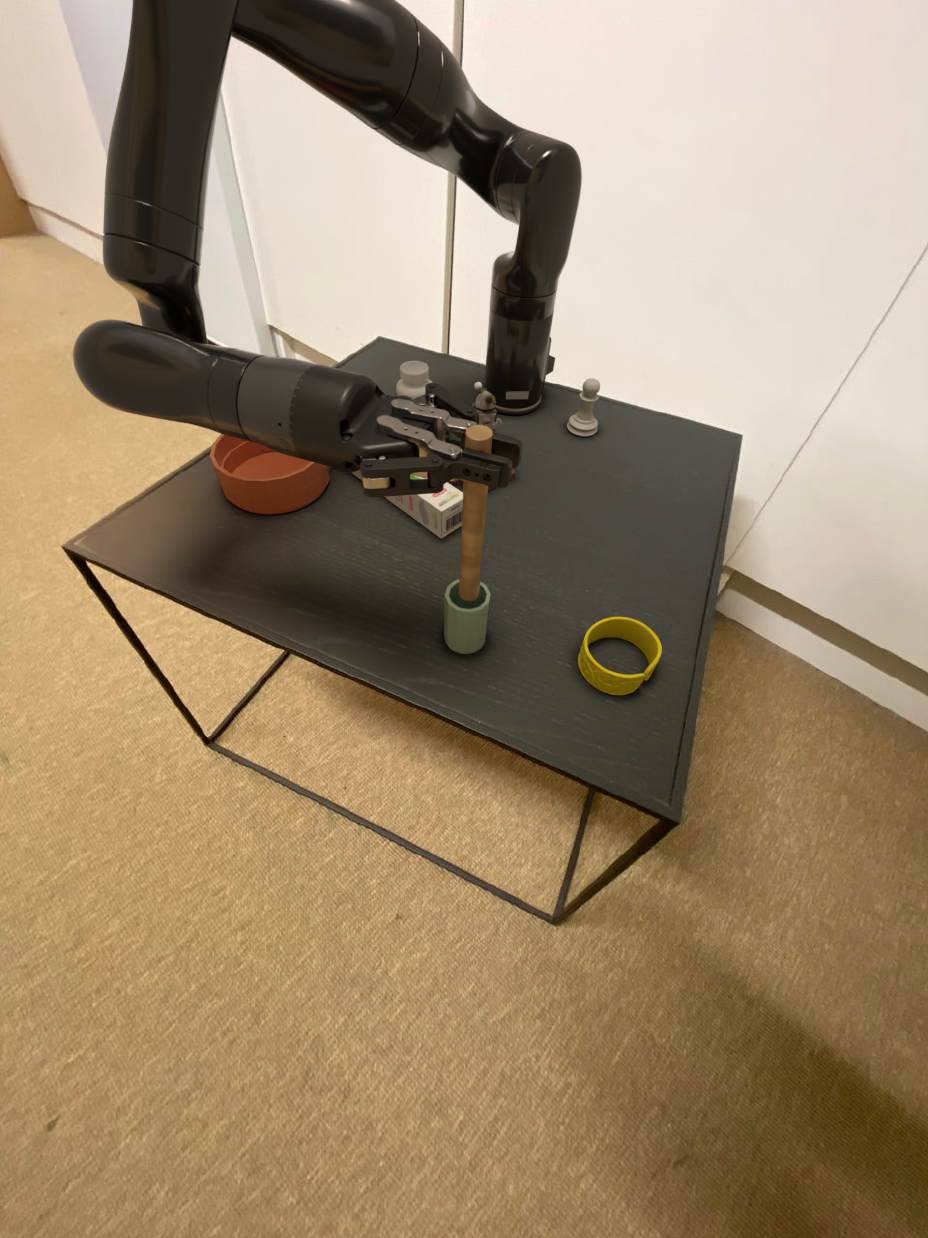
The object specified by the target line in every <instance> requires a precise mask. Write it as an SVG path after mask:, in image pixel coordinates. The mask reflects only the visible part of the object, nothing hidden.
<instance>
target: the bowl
mask: <svg viewBox="0 0 928 1238" xmlns="http://www.w3.org/2000/svg"><path fill="white" fill-rule="evenodd" d="M209 454H210V455H209V457H210V460H211V463H212V466H213V469H214V472H215V474H216V477H217V480H218V482H219V485H220V487H221V490H222V491H223V495H224V496H225V498H226V499H227V500H228V501H229V502H231V503H232V504H233V505H235V506H236V507H238V508H239V509H242V510H244V511H246V512H249V513H252V514H253V513H254V514H260V515H278V514H286V513H289V512H293V511H297V510H299V509H302V508H304V507H306V506H308V505H310V504H311V503H313V502H315V501H316V500H317V499H318V498H319V497H320V496H321V495H322V494H323V493H324V491H325V490H326V487H327V486H328V484H329V482H330V479H331V478H330V467H329V466H325V465H322V464H318V463H314V462H311V461H307V460H303V459H300V458H296V457H292V456H289V455H285V454H282V453H279V452H276V451H273V450H271V449H269V448H267V447H264V446H262V445H259V444H256V443H253V442H249V441H246V440H242V439H238V438H235V437H231V436H227V435H224V434H221V433H220V434H219V436H217V438H216V439H215V441H213V443H212V444H211V448H210V453H209Z"/></svg>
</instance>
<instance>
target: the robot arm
mask: <svg viewBox="0 0 928 1238" xmlns="http://www.w3.org/2000/svg"><path fill="white" fill-rule="evenodd" d="M232 38H233V39H235V40H236V41H239V42H240V43H243V44H245V45H246V46H248V47H250V48H251V49H253V50H255V51H257V52H259V53H261V54H262V55H264V56H265V57H267V58H269V60H272V61H273V62H275V63H276V64H278V65H279V66H281V67H282V68H283V69H285V70H286V71H288V72H289V73H291V74H292V75H293V76H295V77H296V78H297V79H299V80H300V81H302V82H303V83H305V84H306V85H307V86H309V87H310V88H312V89H313V90H314V91H316V92H318V93H319V94H321V95H322V96H324V97H325V98H327V99H328V100H330V101H331V102H333V103H334V104H336V105H337V106H338V107H340V108H342V109H343V110H345V111H346V112H347V113H349V115H351V116H353V117H354V118H356V119H357V120H358V121H359V122H361V123H362V124H364V125H365V126H366V127H368V128H369V129H371V130H372V131H374V132H376V133H377V134H379V135H380V136H382V137H383V138H385V139H386V140H388V141H389V142H390V143H392V144H393V145H395V146H396V147H399V148H400V149H402V150H404V151H405V152H408V153H409V154H411V155H413V156H415V157H416V158H418V159H420V160H421V161H424V162H427V163H428V164H431V165H433V166H435V167H438V168H440V169H443V170H445V171H447V172H449V173H450V174H452V175H453V176H455V177H456V178H457V179H459V180H460V181H461V182H462V183H463V184H465V185H466V186H467V187H468V188H469V189H470V190H471V191H473V192H474V193H475V195H477V196H478V197H479V198H480V199H481V200H482V201H483V202H484V203H485V204H487V205H488V207H490V208H491V209H492V211H494V212H495V213H496V214H497V215H498V216H499V217H501V218H502V219H504V220H507V221H509V222H510V223H513V224H515V225H516V226H518V229H517V236H516V242H515V248H514V250H511V251H507V252H504V253H501V254H499V255H498V256H497V257H496V258H495V259H494V260H493V263H492V269H491V280H490V281H491V282H490V297H489V311H488V312H489V313H488V325H487V326H488V327H487V340H486V355H485V368H484V369H485V370H484V384H483V388H485V389H487V391H488V392H489V393H491V394H492V395H493V396H494V397H495V400H496V404H495V408H494V409H496V411H497V413H501V414H504V415H505V414H506V415H513V416H514V415H517V416H518V415H526V414H529V413H531V412H534V411H535V410H537V409H538V408H539V407H540V405H541V401H542V397H543V396H544V390H545V385H546V380H547V379H546V378H547V376H548V375H549V374H551V373H553V372H554V368H555V363H556V357H555V356H552V355H550V352H551V348H552V347H551V346H552V337H551V331H552V325H553V319H554V312H555V305H556V299H557V292H558V286H559V280H560V277H561V275H562V273H563V270H564V268H565V266H566V263H567V262H568V261H567V260H568V257H569V253H570V249H571V244H572V238H573V235H574V234H573V233H574V229H575V224H576V219H577V215H578V210H579V205H580V200H581V192H582V186H583V185H582V183H583V169H582V162H581V158H580V156H579V155H580V154H579V153H578V152H577V150H576V149H575V148H574V146H573V145H571V144H569V143H567V142H565V141H563V140H560V139H557V138H554V137H550V136H548V135H545V134H543V133H538V132H536V131H533V130H530V129H527V128H524V127H523V126H520V125H517V124H515V123H513V122H512V121H510V120H509V119H507V118H505V117H503V115H501V114H500V113H498V112H497V111H495V110H494V109H492V108H491V107H490V106H488V105H487V104H486V103H485V102H484V101H483V100H482V99H480V97H479V96H478V95H477V94H476V92H475V90H474V88H473V87H472V86H471V83H470V82H469V80H468V78H467V75H466V73H465V72H464V70H463V68H462V66H461V64H460V63H459V61H458V59H457V58H456V57H455V55H454V54H453V53H452V51H451V50H450V49H449V47H448V46H447V45H446V44H445V43H444V42H443V41H442V40H441V38H439V37H438V36H437V35H436V34H435V33H434V32H433V31H432V30H431V29H429V27H427V26H426V25H425V24H424V23H423V22H422V21H421V20H420V19H419V18H417V17H416V16H415V15H414V13H412V12H411V11H410V10H409V9H408V8H406V7H405V6H404V5H402V4H401V3H399V2H398V1H397V0H132V8H131V20H130V29H129V38H128V46H127V51H126V52H127V53H126V57H125V64H124V70H123V75H122V80H121V85H120V90H119V95H118V99H117V103H116V107H115V112H114V116H113V117H114V118H113V120H112V121H113V122H112V126H111V131H110V137H109V143H108V149H107V157H106V158H107V159H106V165H105V177H104V178H105V179H104V201H103V226H102V227H103V229H102V233H103V235H102V263H103V268H104V270H105V272H106V274H107V275H108V277H109V278H110V279H112V281H114V282H115V283H116V284H117V285H119V286H120V287H121V288H123V289H124V290H125V291H127V292H128V293H130V294H131V295H132V296H133V297H134V299H135V301H136V304H137V309H138V312H139V316H140V317H139V318H140V322H141V325H140V324H137V323H134V322H130V321H127V320H123V319H118V318H107V319H106V318H105V319H100V320H98V321H95V322H93V323H91V324H89V325H88V326H86V327H85V328H84V329H82V331H81V332H80V333H79V334H78V336H77V337H76V340H75V342H74V344H73V349H72V350H73V351H72V362H73V367H74V370H75V372H76V375H77V377H78V380H79V381H80V382H81V384H82V386H83V387H84V388H85V389H86V390H87V392H88V393H89V394H90V395H91V396H92V397H93V398H95V399H96V400H97V401H99V402H100V403H101V404H103V405H104V406H107V407H109V408H111V409H113V410H116V411H119V412H124V413H126V414H127V413H128V414H131V415H137V416H142V417H147V418H153V419H158V420H165V421H169V422H176V423H182V424H187V425H188V424H189V425H193V426H197V427H199V428H204V429H206V430H210V431H213V432H216V433H218V434H220V435H221V434H224V435H227V436H231V437H235V438H238V439H242V440H246V441H249V442H253V443H256V444H259V445H262V446H264V447H267V448H269V449H271V450H273V451H276V452H279V453H282V454H285V455H289V456H292V457H296V458H300V459H303V460H307V461H311V462H314V463H318V464H322V465H325V466H329V468H333V469H337V470H341V471H343V472H344V471H345V472H348V473H351V472H356V471H358V470H361V478H362V480H361V484H362V485H361V486H362V492H363V493H362V494H363V495H364V496H365V497H366V498H383V497H384V498H385V497H386V496H402V495H417V494H432V493H440V492H442V491H443V489H444V484H445V483H448V481H452V482H453V481H457V480H459V479H464V480H468V481H472V482H475V483H479V484H484V485H487V486H491V487H496V488H502V489H504V488H507V487H508V485H509V484H510V481H512V480H511V473H512V468H514V469H517V468H518V466H519V465H520V463H521V461H522V454H523V446H524V443H523V442H522V440H521V439H519V438H516V437H513V436H511V435H506V434H502V433H498V432H495V433H494V432H492V433H493V437H492V449H491V454H490V453H486V452H482V451H477V450H473V449H470V448H466V447H465V436H466V430H467V429H468V428H469V427H471V426H474V425H477V410H476V409H475V408H473V407H472V405H470V404H469V403H467V402H466V401H464V400H463V399H461V398H460V397H458V396H456V395H455V394H454V393H453V392H451V391H449V390H448V389H446V388H444V387H443V386H442V385H440V384H438V383H436V382H433V383H428V384H426V386H425V394H424V395H422V396H419V397H417V398H414V399H412V398H411V397H408V396H405V395H397V394H396V395H393V394H392V395H391V394H386V393H385V392H383V390H382V389H381V388H380V387H379V385H378V384H377V383H376V381H375V380H374V379H373V378H372V377H371V376H369V375H368V374H367V375H366V374H363V373H359V372H356V371H355V372H354V371H349V370H345V369H341V368H337V367H334V366H329V365H325V364H320V363H317V362H311V361H307V360H302V359H297V358H293V357H284V356H270V355H266V354H262V353H257V352H253V351H250V350H245V349H241V348H237V347H231V346H222V345H215V344H209V343H208V337H207V329H206V323H205V315H204V309H203V304H202V298H201V293H200V286H199V285H200V276H201V266H202V255H203V243H204V231H205V220H206V206H207V196H208V184H209V177H210V176H209V174H210V165H211V156H212V148H213V142H214V134H215V127H216V121H217V114H218V109H219V102H220V96H221V93H222V86H223V81H224V76H225V71H226V70H225V69H226V65H227V59H228V54H229V50H230V44H231V39H232ZM434 425H435V428H434ZM450 433H452V434H453V435H454V436H456V437H457V438H458V439H454V438H452V437H450ZM459 439H460V440H459ZM411 474H413V475H416V476H419V477H422V478H427V479H414V480H413V479H410V475H411ZM392 477H393V478H392Z"/></svg>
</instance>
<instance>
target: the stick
mask: <svg viewBox="0 0 928 1238" xmlns="http://www.w3.org/2000/svg"><path fill="white" fill-rule="evenodd" d="M492 437H493V433H492V430H491V429H490V428H488V427H486V426H483V425H474V426H471V427H469V428H468V429H467V430H466V436H465V447H466V448H470V449H473V450H477V451H482V452H486V453H490V454H491V449H492ZM462 488H463V489H462V490H463V491H462V493H463V508H462V526H461V534H460V535H461V537H460V539H461V540H460V559H459V561H460V562H459V579H460V581H459V595H460V597H461V598H462V599H463V600H465V601H474V600H476V599H477V598H478V597H479V592H480V582H481V580H482V579H481V578H482V569H483V567H482V566H483V556H484V555H483V554H484V544H485V532H486V520H487V519H486V517H487V508H488V507H487V506H488V496H489V495H488V493H489V491H488V486H487V485H484V484H479V483H475V482H472V481H468V480H464V484H463V486H462Z"/></svg>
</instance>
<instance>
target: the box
mask: <svg viewBox="0 0 928 1238" xmlns="http://www.w3.org/2000/svg"><path fill="white" fill-rule="evenodd" d="M350 473H351V474H352V475H354V476H355V477H357V479H359V480H360V481H362V478H361V470H358V471H356V472H350ZM392 478H393V477H392ZM410 479H413V480H414V479H427V478H422V477H419V476H416V475H413V474H411V475H410ZM384 498H385V499H386V500H388V501H389V502H391V504H393V505H395V506H396V507H398V509H400V510H401V511H403V512H404V513H406V514H407V515H408V516H410V517H411V518H413V519H414V520H415V521H417V523H419V524H421V525H422V526H423V527H424V528H426V530H427V529H428V530H429V531H430V532H432V533H433V534H434V535H435V536H437V537H438V538H440V539H443V538H445V537H446V536H448V535H450V534H451V533H453V532H454V531H455V530H457V529H459V528H461V527H462V508H463V491H461V490H460V489H458V488H456V487H455V486H453V484H451V483H448V482H447V483H445V484H444V489H443V491H442V492H440V493H432V494H417V495H402V496H386V497H384Z"/></svg>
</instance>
